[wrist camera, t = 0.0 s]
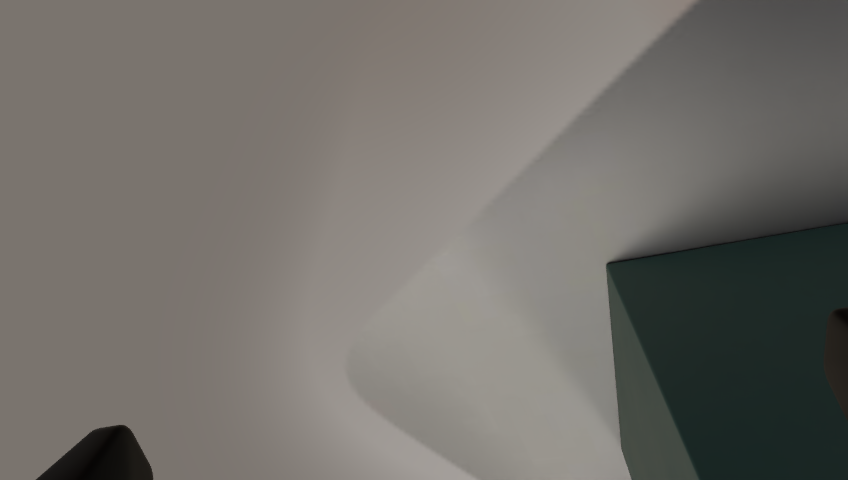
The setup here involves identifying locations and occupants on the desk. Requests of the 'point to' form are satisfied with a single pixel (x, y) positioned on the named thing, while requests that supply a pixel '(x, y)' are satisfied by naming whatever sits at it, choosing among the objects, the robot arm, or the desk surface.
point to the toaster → (731, 359)
